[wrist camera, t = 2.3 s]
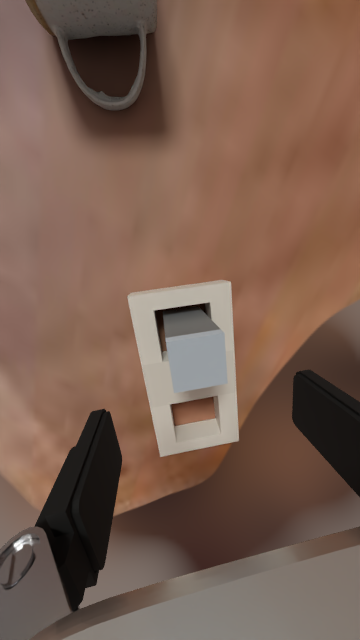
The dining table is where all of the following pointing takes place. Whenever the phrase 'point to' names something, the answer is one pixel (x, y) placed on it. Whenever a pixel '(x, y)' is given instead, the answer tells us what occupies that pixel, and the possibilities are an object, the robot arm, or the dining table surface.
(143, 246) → the dining table surface
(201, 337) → the plug
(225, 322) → the jack panel
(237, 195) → the dining table surface
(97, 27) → the ceramic mug
